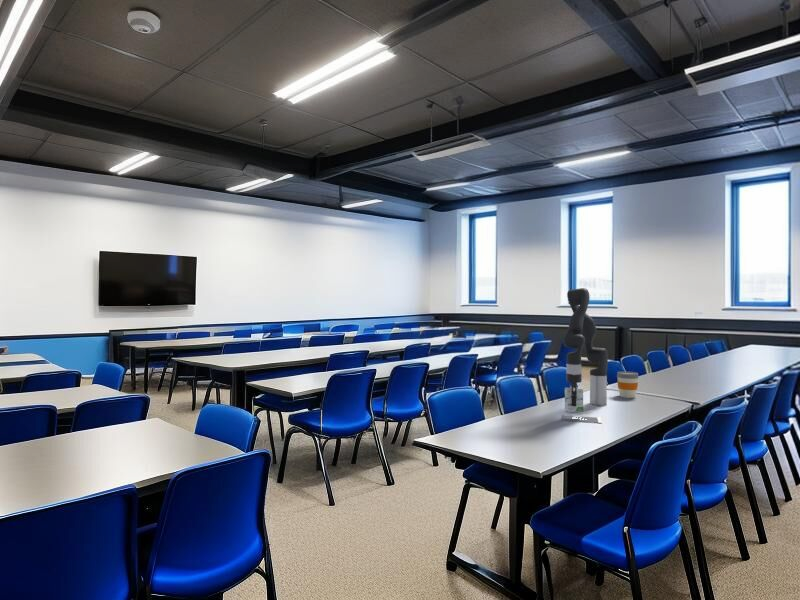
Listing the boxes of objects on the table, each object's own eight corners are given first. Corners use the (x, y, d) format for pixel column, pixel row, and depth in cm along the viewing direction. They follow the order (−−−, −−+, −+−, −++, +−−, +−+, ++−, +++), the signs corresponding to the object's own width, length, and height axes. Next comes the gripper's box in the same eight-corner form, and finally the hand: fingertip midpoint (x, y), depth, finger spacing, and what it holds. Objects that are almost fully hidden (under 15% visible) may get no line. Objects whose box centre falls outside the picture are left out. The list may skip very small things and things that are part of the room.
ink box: (581, 409, 265) (581, 387, 265) (583, 412, 261) (583, 389, 260) (564, 409, 266) (564, 387, 266) (566, 411, 261) (566, 388, 261)
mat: (562, 415, 270) (562, 415, 270) (600, 418, 264) (600, 417, 264) (561, 420, 260) (561, 419, 260) (601, 423, 254) (601, 422, 254)
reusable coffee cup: (612, 394, 326) (612, 371, 326) (630, 394, 329) (630, 371, 328) (624, 398, 314) (624, 374, 314) (642, 398, 316) (642, 374, 316)
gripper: (566, 370, 271) (566, 401, 271) (566, 374, 258) (566, 407, 258) (581, 371, 269) (581, 402, 269) (581, 375, 255) (581, 408, 255)
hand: (573, 404), depth 263 cm, fingers closed on ink box, 5 cm apart
